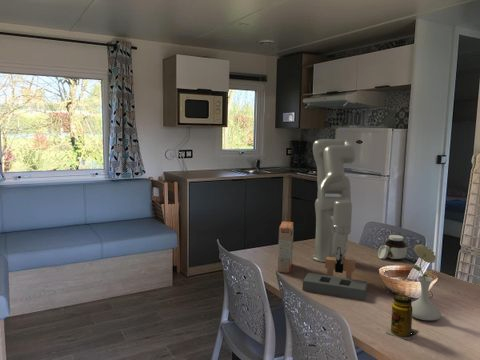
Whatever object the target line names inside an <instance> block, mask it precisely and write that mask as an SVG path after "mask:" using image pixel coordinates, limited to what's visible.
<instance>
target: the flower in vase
mask: <svg viewBox="0 0 480 360" xmlns="http://www.w3.org/2000/svg"><path fill="white" fill-rule="evenodd" d="M413 251H414V252H415V254H416V255H417V257H418V258H420V262H419V266H418V265H416V264H414V265H412V267H411V268H412V269H414V270H416V271H417V272H421V274H422V275H420V276H417V279H418V281H419V283H420V297H419V298H418V299H416V300H414V301H411V304H412V305H411V306H412V318H415V319H418V320H423V321H436V320H439V319H440V318H441V317H442V313H441V311H440V309H439V308H438V307H437V306H436V305H435V304H434V303H432V302H431V301H430V299H429V289H430V286H431V283H432V282H433V281H434V278H432V277H431V276H427V275H429V274H431V273H432V272H433V270H428V271H426V272H424V273H423V270H422V267H421V266H422V262H423V261H424V262H425V263H427V264H433V263H436V260H437V259H436V255H435V252H434V251H433V250H432V249H430V248H429V247H428V246H427V245H426V246H424V244H416V245H414V249H413ZM425 275H426V276H425Z"/></svg>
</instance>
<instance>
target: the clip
mask: <svg viewBox="0 0 480 360" xmlns="http://www.w3.org/2000/svg"><path fill="white" fill-rule="evenodd" d="M340 259H341V258H340ZM335 263H336V258H335V257H327V258H326V259H325V262H324V268H325V269H326V275H327V276H334V271H335ZM342 264H343V272H345V278H347V279H353V273H354V272H355V270H356V259H355V260H354V259H349V258H345V259H343V263H342Z"/></svg>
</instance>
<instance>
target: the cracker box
mask: <svg viewBox="0 0 480 360" xmlns="http://www.w3.org/2000/svg"><path fill="white" fill-rule="evenodd" d="M293 246H294V222H293V221H281V224H280V225H279V229H278V251H277V273H283V274H285V273H286V274H290V272H291V270H292V269H291V268H292V265H293V249H294V247H293Z"/></svg>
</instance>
